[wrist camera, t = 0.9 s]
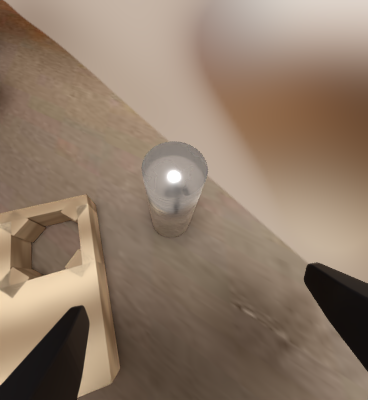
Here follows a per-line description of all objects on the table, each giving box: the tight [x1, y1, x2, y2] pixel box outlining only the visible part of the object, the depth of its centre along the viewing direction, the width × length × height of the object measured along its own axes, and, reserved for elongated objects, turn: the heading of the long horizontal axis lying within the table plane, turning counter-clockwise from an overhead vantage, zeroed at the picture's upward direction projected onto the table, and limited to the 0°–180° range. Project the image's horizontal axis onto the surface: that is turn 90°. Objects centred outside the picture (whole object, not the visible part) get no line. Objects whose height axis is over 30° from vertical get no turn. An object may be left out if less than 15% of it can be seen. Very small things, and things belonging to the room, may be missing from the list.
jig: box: [0, 194, 120, 398], centre depth 18 cm, size 16×8×3 cm, turn 17°
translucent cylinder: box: [142, 142, 208, 238], centre depth 18 cm, size 4×4×11 cm
